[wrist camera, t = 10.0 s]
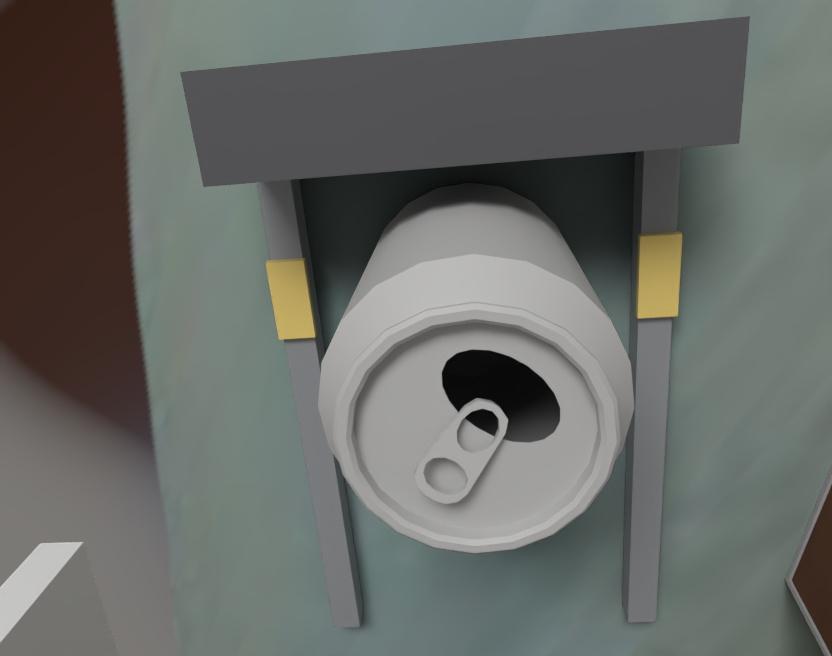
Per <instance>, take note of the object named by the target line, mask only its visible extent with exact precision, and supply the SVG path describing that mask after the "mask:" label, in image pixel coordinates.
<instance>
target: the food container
mask: <svg viewBox="0 0 832 656" xmlns="http://www.w3.org/2000/svg"><path fill="white" fill-rule="evenodd" d="M785 581H786V583H787V585H788V587H789V589H790V591H791V593H792V595H793V596H794V598H795V600H796V602H797V604H798V606H799V608H800V610H801V612H802V614H803V616H804V618H805V620H806V622H807V623H808V625H809V627H810V629H811V631H812V633H813V635H814V637H815V639H816V641H817V643H818V645H819V647H820V649H821V650H822V652H823V654H824V656H832V466H831V469H830V471H829V473H828V476H827V478H826V481H825V483H824V485H823V488H822V490H821V493H820V495H819V498H818V500H817V502H816V505H815V507H814V510H813V512H812V514H811V517H810V519H809V522H808V524H807V527H806V529H805V531H804V534H803V536H802V539H801V541H800V544H799V546H798V548H797V551H796V553H795V556H794V558H793V560H792V563H791V565H790V568H789V570H788V573H787V575H786V577H785Z"/></svg>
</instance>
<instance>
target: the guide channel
mask: <svg viewBox="0 0 832 656" xmlns="http://www.w3.org/2000/svg"><path fill="white" fill-rule="evenodd" d="M749 19H750V16H749V17H739V18H729V19H718V20H708V21H698V22H688V23H678V24H667V25H657V26H647V27H637V28H627V29H616V30H606V31H596V32H586V33H576V34H565V35H555V36H545V37H535V38H524V39H514V40H504V41H494V42H484V43H473V44H463V45H453V46H443V47H433V48H422V49H412V50H402V51H392V52H382V53H371V54H361V55H351V56H341V57H330V58H320V59H310V60H300V61H290V62H279V63H269V64H259V65H249V66H239V67H228V68H218V69H208V70H198V71H188V72H181V77H182V82H183V87H184V92H185V97H186V102H187V107H188V112H189V117H190V122H191V127H192V132H193V137H194V142H195V146H196V151H197V156H198V161H199V166H200V171H201V176H202V181H203V186H204V187H207V186H219V185H231V184H244V183H256V182H257V186H258V192H259V197H260V203H261V209H262V215H263V220H264V226H265V232H266V238H267V243H268V249H269V255H270V261H267V262H266V268H267V274H268V280H269V285H270V291H271V297H272V302H273V308H274V314H275V319H276V325H277V331H278V336H279V340H280V339H284V341H285V347H286V353H287V359H288V364H289V370H290V376H291V382H292V387H293V393H294V399H295V405H296V411H297V416H298V422H299V428H300V434H301V439H302V445H303V451H304V457H305V462H306V468H307V474H308V480H309V485H310V491H311V497H312V503H313V508H314V514H315V520H316V526H317V532H318V537H319V543H320V549H321V555H322V560H323V566H324V572H325V578H326V583H327V589H328V595H329V601H330V606H331V612H332V618H333V624H334V628H336V627H360V624H361V618H362V613H363V601H362V594H361V587H360V581H359V574H358V567H357V561H356V554H355V548H354V541H353V534H352V528H351V521H350V514H349V508H348V501H347V494H346V488H345V481H344V476H343V474H342V470H341V467H340V463H339V462H338V460H337V459H336V457H335V456H334V454H333V453H332V451H331V450H330V448H329V445H328V442H327V438H326V434H325V431H324V427H323V423H322V419H321V416H320V412H319V408H318V399H319V387H320V375H321V362H322V360H323V358H324V356H325V348H324V342H323V335H322V328H321V322H320V315H319V309H318V302H317V295H316V289H315V282H314V275H313V269H312V262H311V255H310V249H309V242H308V236H307V229H306V222H305V216H304V209H303V202H302V196H301V189H300V182H299V179H305V178H317V177H330V176H342V175H354V174H367V173H379V172H391V171H404V170H416V169H428V168H441V167H453V166H465V165H478V164H490V163H502V162H515V161H527V160H539V159H551V158H564V157H576V156H588V155H601V154H613V153H625V152H635V176H634V209H633V243H632V277H631V311H630V344H629V360H630V362H631V370H632V383H633V395H634V411H633V415H632V418H631V422H630V425H629V429H628V432H627V446H626V480H625V513H624V547H623V581H622V604H623V608H624V611H625V614H626V618H627V621H628V622H656V609H657V590H658V572H659V553H660V535H661V516H662V498H663V479H664V461H665V442H666V424H667V405H668V387H669V368H670V349H671V331H672V316H678V304H679V286H680V269H681V251H682V233H681V232H677V220H678V201H679V183H680V164H681V148H687V147H699V146H712V145H724V144H736V143H739V138H740V126H741V114H742V103H743V91H744V79H745V67H746V55H747V43H748V31H749Z"/></svg>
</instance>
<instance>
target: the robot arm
mask: <svg viewBox="0 0 832 656" xmlns="http://www.w3.org/2000/svg"><path fill="white" fill-rule="evenodd" d="M0 656H118V653H117V649H116V646H115V643H114V640H113V636H112V633H111V630H110V626H109V623H108V620H107V617H106V614H105V610H104V607H103V604H102V600H101V597H100V594H99V591H98V587H97V584H96V581H95V578H94V574H93V571H92V568H91V564H90V561H89V558H88V555H87V552H86V548H85V545H84V542H69V543H41V544H40V545H39V546H38V547H37V548H36V549H35V550H34V551H33V552H32V553H31V554H30V555H29V557H27V559H26V560H25V561H24V562H23V563H22V564H21V565H20V566H19V567H18V568H17V570H16V571H15V572H14V573H13V574H12V575H11V576H10V577H9V578H8V579H7V580H6V582H5V583H4V584H3V585H2V586H1V587H0Z"/></svg>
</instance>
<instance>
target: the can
mask: <svg viewBox="0 0 832 656" xmlns="http://www.w3.org/2000/svg"><path fill="white" fill-rule="evenodd" d="M318 408H319V412H320V416H321V419H322V423H323V427H324V431H325V434H326V438H327V442H328V445H329V448H330V450H331V451H332V453H333V454H334V456H335V457H336V459H337V460H338V462H339V463H340V467H341V470H342V474H343V476H344V477H345V479H346V480H347V482H348V483H349V485H350V486H351V488H352V489H353V491H354V492H355V494H356V495H357V497H358V498H359V500H360V501H361V503H362V504H363V506H364V507H365V508H367V509H368V510H369V511H370V512H372V513H373V514H374V515H375V516H376V517H378V518H379V519H380V520H381V521H383V522H384V523H385V524H386V525H388V526H389V527H390V528H391V529H393V530H394V531H395V532H397V533H400V534H402V535H404V536H407V537H409V538H411V539H414V540H416V541H418V542H421V543H423V544H425V545H428V546H430V547H432V548H438V549H444V550H451V551H458V552H465V553H471V554H478V553H487V552H497V551H506V550H516V549H518V548H521V547H524V546H526V545H529V544H531V543H534V542H537V541H539V540H542V539H544V538H547V537H550V536H552V535H555V534H556V533H557V532H559V531H560V530H561V529H563V528H564V527H565V526H567V525H568V524H569V523H571V522H572V521H573V520H575V519H576V518H577V517H579V516H580V515H581V514H582V513H584V512H585V511H586V510H587V509H588V508H589V507H590V505H591V504H592V502H593V501H594V499H595V498H596V497H597V495H598V494H599V492H600V491H601V490H602V488H603V487H604V485H605V484H606V483H607V481H608V480H609V478H610V476H611V472H612V469H613V465H614V462H615V460H616V459H617V457H618V456H619V454H620V453H621V452H622V450H623V446H624V443H625V439H626V436H627V432H628V429H629V425H630V422H631V418H632V415H633V411H634V395H633V383H632V370H631V362H630V360H629V358H628V355H627V353H626V351H625V349H624V347H623V345H622V343H621V341H620V339H619V336H618V334H617V332H616V330H615V328H614V326H613V324H612V322H611V320H610V318H609V316H608V314H607V313H606V311H605V309H604V307H603V306H602V304H601V302H600V300H599V299H598V297H597V295H596V294H595V292H594V290H593V288H592V287H591V285H590V283H589V281H588V280H587V278H586V276H585V274H584V273H583V271H582V269H581V267H580V266H579V264H578V262H577V261H576V259H575V257H574V255H573V254H572V252H571V250H570V248H569V247H568V245H567V243H566V241H565V240H564V238H563V236H562V235H561V233H560V231H559V229H558V228H557V226H556V224H555V223H554V222H553V221H552V220H551V219H550V218H549V217H548V216H547V215H546V214H545V213H544V212H543V211H542V210H541V209H540V208H539V207H538V206H537V205H536V204H535V203H534V202H532V201H530V200H528V199H526V198H524V197H522V196H520V195H518V194H516V193H514V192H512V191H510V190H508V189H506V188H504V187H499V186H492V185H485V184H478V183H471V182H469V183H463V184H458V185H452V186H447V187H441V188H436V189H434V190H432V191H431V192H429V193H427V194H425V195H423V196H421V197H419V198H418V199H416V200H414V201H412V202H410V203H408V204H407V205H406V206H405V207H404V208H403V209H402V210H401V211H400V212H399V213H398V214H397V215H396V216H395V218H394V219H393V220H392V221H391V222H390V223H389V224H388V225H387V226H386V227H385V229H384V231H383V233H382V235H381V237H380V239H379V241H378V243H377V246H376V248H375V250H374V252H373V254H372V256H371V258H370V260H369V262H368V265H367V267H366V269H365V271H364V273H363V275H362V277H361V279H360V281H359V284H358V286H357V288H356V290H355V292H354V294H353V296H352V298H351V300H350V302H349V305H348V307H347V309H346V311H345V313H344V315H343V317H342V319H341V321H340V324H339V326H338V328H337V330H336V332H335V334H334V337H333V339H332V341H331V343H330V345H329V347H328V349H327V352H326V354H325V356H324V358H323V360H322V362H321V375H320V387H319V399H318Z"/></svg>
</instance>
